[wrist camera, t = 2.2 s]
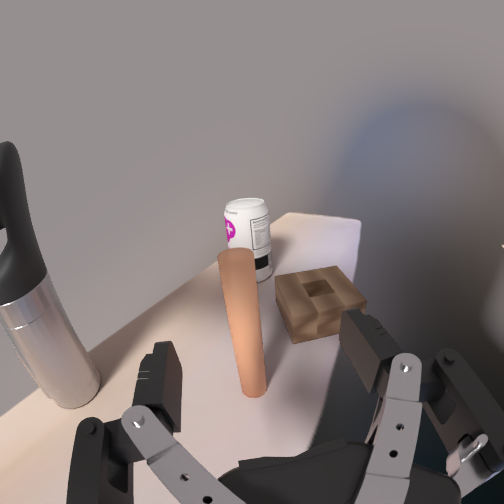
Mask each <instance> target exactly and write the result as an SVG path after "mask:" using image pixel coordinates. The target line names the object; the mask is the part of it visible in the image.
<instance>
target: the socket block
mask: <svg viewBox="0 0 504 504" xmlns="http://www.w3.org/2000/svg"><path fill="white" fill-rule="evenodd" d="M275 291H276V302H277V305H278V307H279V310H280V312H281V315H282V317H283V320H284V322H285V325H286V328H287V330H288V333H289V335H290V338H291V340H292V343H293V344H295V343H300V342H305V341H309V340H313V339H318V338H322V337H326V336H330V335H334V334H338V333H339V332H340V323H341V314H342V311H344V310H348V309H352V308H356V307H357V308H359V309H360V310H361V312H362V313H363V314H365V309H366V303H367V300H366V299H365V298H364V297H363V295H362V294H361V293H360V292H359V291H358V290H357V288H356V287H355V286H354V285H353V284H352V283H351V281H350V280H349V279H348V278H347V277H346V276H345V275H344V274H343V272H342V271H341V270H340V269H339V268H338V267H337V266H332V267H326V268H320V269H314V270H309V271H303V272H297V273H291V274H285V275H279V276H275Z"/></svg>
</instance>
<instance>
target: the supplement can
mask: <svg viewBox="0 0 504 504" xmlns="http://www.w3.org/2000/svg"><path fill="white" fill-rule="evenodd" d="M226 205H227V206H226V209H225V211H224V217H225V224H226V232H227V238H228V246H229V249H230V248H237V247H243V248H248V249H251V250H252V251H253V252H254V260H255V271H256V281H257V282H261V281H263V280H265V279H267V278H268V277H269V276H270V275H271V274H272V271H273V267H272V252H271V237H270V223H269V210H268V208H267V206H266V205H265V203H264V200H262V199H259V198H243V199H237V200H234V201H231V202H229V203H227V204H226Z"/></svg>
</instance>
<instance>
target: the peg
mask: <svg viewBox="0 0 504 504" xmlns="http://www.w3.org/2000/svg"><path fill="white" fill-rule="evenodd" d="M218 264H219V270H220V276H221V282H222V287H223V293H224V299H225V305H226V310H227V316H228V321H229V326H230V332H231V337H232V342H233V347H234V352H235V357H236V362H237V367H238V372H239V377H240V382H241V387H242V391H243V393H244V394H245V395H246V396H247V397H250V398H257V397H260V396H262V395H263V394H264V393H265V392H266V390H267V384H266V373H265V363H264V353H263V342H262V332H261V322H260V311H259V301H258V291H257V281H256V271H255V260H254V252H253V251H252V250H251V249H248V248H243V247H237V248H230V249H227V250H224V251H223V252H221V253H220V254H219V255H218Z"/></svg>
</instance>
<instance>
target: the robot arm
mask: <svg viewBox="0 0 504 504" xmlns="http://www.w3.org/2000/svg"><path fill="white" fill-rule="evenodd" d="M3 228H6V231H7V239H8V241H7V244H6V246H5V248H4V250H3V252H2V253H1V255H0V324H1V325H2V327H3V329H4V330H5V332H6V334H7V336H8V337H9V339H10V341H11V342H12V344H13V346H14V347H15V353H16V355H17V357H18V358H19V360H20V361H21V362H22V364H23V365H24V367H25V368H26V370H27V371H28V372H29V374H30V375H31V376H32V378H33V379H34V380H35V382H36V383H37V384H38V386H39V387H40V388H41V389H42V391H43V392H44V393H45V394H46V395H47V397H48V398H52V399H53V400H54V401H55V403H56V404H58V405H59V406H61V407H63V408H68V409H72V408H78V407H81V406H83V405H85V404H86V403H88V402H89V401H90V400H91V399H92V398H93V397H94V396H95V394H96V393H97V391H98V389H99V387H100V382H101V379H100V374H99V372H98V370H97V368H96V367H95V365H94V364H93V362H92V360H91V359H90V357H89V355H88V354H87V352H86V350H85V348H84V346H83V345H82V343H81V341H80V339H79V338H78V336H77V334H76V332H75V330H74V328H73V326H72V324H71V322H70V320H69V318H68V316H67V314H66V312H65V310H64V308H63V306H62V304H61V301H60V299H59V297H58V295H57V293H56V290H55V288H54V286H53V283H52V281H51V278H50V276H49V273H48V271H47V268H46V266H45V263H44V260H43V258H42V255H41V252H40V249H39V246H38V243H37V239H36V236H35V233H34V230H33V226H32V222H31V218H30V213H29V209H28V203H27V197H26V191H25V184H24V179H23V172H22V166H21V162H20V158H19V154H18V151H17V149H16V147H15V146H14V144H13V143H11V142H9V141H6V142H3V143H0V230H1V229H3ZM339 340H340V344H341V346H342V348H343V350H344V351H345V353H346V355H347V356H348V358H349V360H350V361H351V363H352V365H353V366H354V368H355V370H356V372H357V374H358V375H359V377H360V379H361V381H362V382H363V384H364V386H365V388H366V389H367V391H368V393H369V394H372V393H375V392H378V393H379V395H380V396H379V398H378V402H377V406H376V410H375V413H374V417H373V421H372V424H371V427H370V430H369V433H368V436H367V438H366V441H365V443H362V442H346V440H345V437H341V438H338V439H335V440H332V441H329V442H326V443H322V444H319V445H317V446H315V447H313V448H311V449H309V450H307V451H306V452H304V453H301V454H299V455H297V456H295V457H261V458H255V459H248V460H241V461H238V462H239V467H237V468H234V469H232V470H230V471H228V472H226V473H225V474H223V475H222V476H221V477H219V478H218V479H216V478H215V477H214V476H213V475H212V474H210V473H209V472H208V471H207V470H206V469H205V468H204V467H203V466H202V465H201V464H200V463H199V462H198V461H197V460H196V459H195V458H194V457H193V456H192V455H191V454H190V453H189V452H188V451H187V450H186V449H185V448H184V447H183V446H182V445H181V444H180V443H179V442H177V441H176V440H175V438H174V437H173V433H174V432H181V398H182V367H181V363H180V361H179V358H178V356H177V353H176V351H175V348H174V346H173V343H172V342H171V341H165V342H156V343H155V344H154V349H153V354H146V356H145V357H144V358H143V360H142V361H141V363H140V368H139V373H138V377H137V379H138V380H137V382H136V387H135V392H134V398H133V403H132V407H130V408H129V409H127V410H126V411H125V412H124V414H123V415H122V418H120V419H117V420H114V421H110V422H106V423H103V422H102V421H101V420H100V419H98V418H95V417H89V418H86V419H84V420H82V421H81V422H80V423H79V425H78V427H77V431H76V436H75V441H74V446H73V452H72V458H71V465H70V472H69V480H68V490H67V502H66V504H134V498H133V462H137V461H141V460H145V459H146V461H147V464H148V466H149V467H150V468H151V470H152V471H153V472H154V473H155V475H156V476H157V477H158V478H159V480H160V481H161V482H162V483H163V484H164V485H165V487H166V488H167V489H168V490H169V491H170V492H171V493H172V495H173V496H174V497H175V498H176V499H177V500H178V501H179V502H180V503H181V504H461V498H462V497H464V496H465V495H466V494H468V493H469V492H471V491H472V490H473V489H474V488H476V487H478V486H480V485H481V484H482V483H484V482H486V481H487V480H489V479H490V478H491V477H493V476H494V475H496V474H497V473H498V472H500V471H501V470H503V469H504V412H503V411H502V409H501V408H500V406H499V405H498V404H497V402H496V401H495V399H494V398H493V396H492V395H491V394H490V392H489V391H488V390H487V388H486V387H485V386H484V384H483V383H482V382H481V380H480V379H479V378H478V376H477V375H476V374H475V372H474V371H473V370H472V369H471V367H470V366H469V365H468V363H467V362H466V361H465V360H464V359H463V357H462V356H461V355H460V354H459V353H458V352H457V351H456V350H454V349H451V348H444V349H441V350H440V351H439V352H438V353H437V355H436V358H431V359H423V360H419V358H417V357H416V356H415V355H413V354H409V353H404V352H403V351H402V350H401V349H400V347H399V346H398V345H397V344H396V342H395V341H394V340H393V339H392V337H391V336H390V335H389V334H388V333H387V331H386V330H385V329H384V328H383V326H382V325H381V324H380V322H379V321H378V320H377V319H375V318H373V317H372V316H370V315H366V316H365V315H364V314H363V313H362V312H361V310H360V309H359V308H357V307H356V308H352V309H348V310H344V311H342V314H341V323H340V332H339ZM447 390H448V391H447ZM449 393H450V394H449ZM451 396H452V397H451ZM452 398H453V399H454V400H453V399H452ZM454 401H455V402H454ZM422 406H423V407H424V409H425V411H426V412H427V414H428V416H429V418H430V420H431V421H432V423H433V425H434V427H435V429H436V430H437V432H438V434H439V436H440V438H441V440H442V442H443V443H444V445H445V447H446V449H447V451H448V453H449V455H448V457H447V462H446V463H447V466H446V470H447V471H448V475H445V474H443V473H440V472H437V471H434V470H431V469H428V468H426V467H423V466H420V465H417V464H415V463H413V462H412V461H413V457H414V452H415V447H416V442H417V437H418V431H419V425H420V418H421V410H422Z"/></svg>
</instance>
